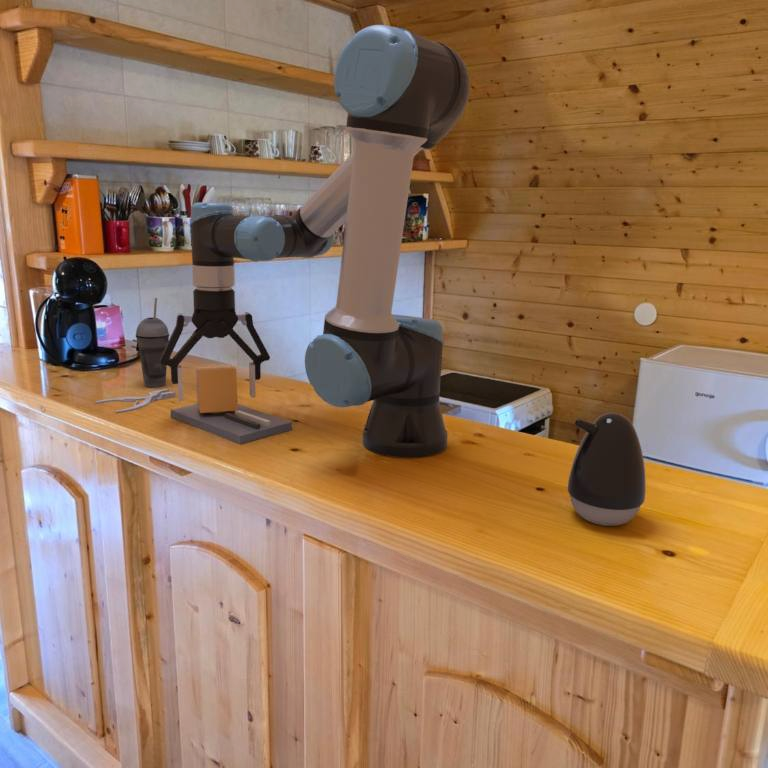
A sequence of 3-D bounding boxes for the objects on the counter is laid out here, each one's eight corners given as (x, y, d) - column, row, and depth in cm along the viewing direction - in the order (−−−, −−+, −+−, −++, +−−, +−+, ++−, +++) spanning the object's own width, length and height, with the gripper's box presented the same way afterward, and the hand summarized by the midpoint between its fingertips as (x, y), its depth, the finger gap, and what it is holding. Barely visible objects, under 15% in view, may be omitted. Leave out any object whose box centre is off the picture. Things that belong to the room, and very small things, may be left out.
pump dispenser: (554, 502, 101) (563, 402, 97) (623, 502, 102) (635, 403, 98) (577, 535, 91) (589, 424, 87) (654, 534, 92) (669, 425, 88)
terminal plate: (292, 429, 130) (292, 396, 128) (240, 444, 121) (239, 408, 120) (221, 405, 144) (220, 375, 142) (170, 417, 135) (169, 385, 134)
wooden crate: (233, 405, 139) (232, 365, 138) (237, 410, 132) (236, 369, 131) (197, 407, 137) (195, 367, 136) (200, 412, 130) (198, 370, 129)
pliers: (93, 397, 143) (159, 385, 153) (94, 404, 143) (160, 392, 154) (116, 407, 136) (183, 394, 147) (116, 415, 137) (184, 401, 147)
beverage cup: (145, 380, 162) (140, 295, 157) (176, 381, 162) (172, 296, 157) (133, 388, 155) (127, 299, 150) (165, 389, 155) (161, 300, 150)
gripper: (277, 285, 136) (277, 389, 142) (143, 286, 128) (149, 396, 134) (284, 289, 129) (284, 399, 135) (143, 291, 121) (149, 407, 127)
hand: (217, 398), depth 134 cm, fingers open, 13 cm apart
